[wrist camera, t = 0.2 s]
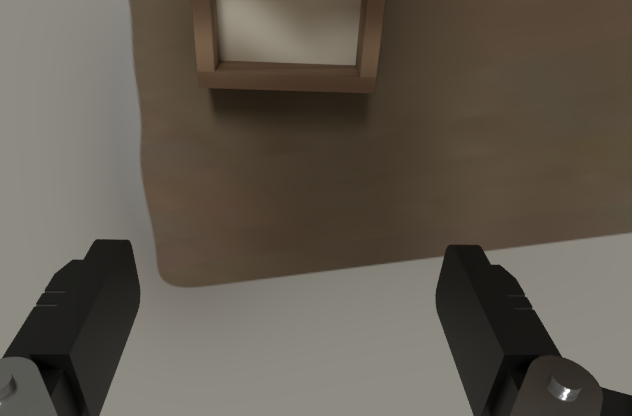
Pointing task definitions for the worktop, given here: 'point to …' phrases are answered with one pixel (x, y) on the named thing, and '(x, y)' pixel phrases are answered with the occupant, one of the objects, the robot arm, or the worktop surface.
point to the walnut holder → (288, 44)
